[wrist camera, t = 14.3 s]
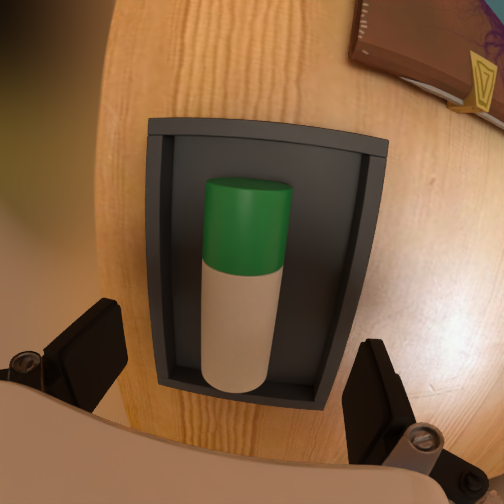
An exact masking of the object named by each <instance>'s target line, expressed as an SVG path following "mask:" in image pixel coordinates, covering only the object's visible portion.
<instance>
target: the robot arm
mask: <svg viewBox="0 0 504 504" xmlns="http://www.w3.org/2000/svg"><path fill="white" fill-rule="evenodd" d="M43 351H44V355H43V356H42V357H41V356H40V354H38V353H36V352H33V351H25V352H21V353H19V354H17V355H15V356H14V357H13V358H12V359H11V361H10V364H9V368H8V369H2V370H0V504H504V499H503V498H502V497H501V496H500V495H498V493H497V492H496V491H494V490H493V491H492V492H490V491H489V490H488V487H489V480H488V478H487V475H486V474H485V473H484V472H483V471H482V470H481V469H479V468H477V467H476V466H474V465H472V464H470V463H468V462H466V461H465V460H463V459H461V458H459V457H457V456H456V455H454V454H452V453H450V452H448V451H447V450H445V449H443V446H444V437H443V435H442V432H441V431H440V430H439V429H438V428H437V427H435V426H434V425H431V424H429V423H423V422H420V423H416V420H415V417H414V414H413V411H412V408H411V405H410V402H409V400H408V397H407V394H406V392H405V389H404V386H403V384H402V381H401V378H400V376H399V375H398V374H395V371H394V368H393V366H392V363H391V361H390V358H389V355H388V353H387V350H386V348H385V345H384V343H383V341H382V340H381V339H369V338H368V339H366V341H365V342H361V344H360V346H359V349H358V352H357V355H356V358H355V361H354V364H353V367H352V370H351V372H350V375H349V378H348V381H347V383H346V386H345V389H344V391H343V394H342V407H343V415H344V423H345V431H346V440H347V449H348V459H349V464H322V463H306V462H293V461H282V460H272V459H264V458H256V457H249V456H243V455H237V454H231V453H225V452H220V451H215V450H210V449H205V448H201V447H196V446H192V445H188V444H184V443H180V442H176V441H172V440H168V439H165V438H161V437H158V436H154V435H151V434H148V433H145V432H141V431H138V430H135V429H132V428H129V427H126V426H123V425H120V424H117V423H115V422H112V421H110V420H107V419H104V418H102V417H99V416H96V415H94V414H92V412H93V411H94V409H95V408H96V406H97V405H98V404H99V402H100V400H101V399H102V398H103V396H104V395H105V393H106V392H107V390H108V389H109V388H110V387H111V385H112V384H113V383H114V381H115V380H116V378H117V377H118V376H119V374H120V373H121V372H122V370H123V369H124V367H125V366H126V364H127V362H128V355H127V349H126V343H125V336H124V329H123V322H122V314H121V307H120V305H118V304H117V301H115V300H112V299H107V298H102V299H100V300H99V301H98V302H97V303H96V304H94V305H93V306H92V307H91V308H90V309H88V310H87V311H86V312H85V313H84V314H83V315H82V316H80V317H79V318H78V319H77V320H76V321H75V322H74V323H72V324H71V325H70V326H69V327H68V328H67V329H66V330H65V331H63V332H62V333H61V334H60V335H59V336H58V337H57V338H56V339H55V340H53V341H52V342H51V343H50V344H49V345H48V346H47V347H46V348H45V349H43Z"/></svg>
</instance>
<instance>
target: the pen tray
mask: <svg viewBox="0 0 504 504" xmlns="http://www.w3.org/2000/svg"><path fill="white" fill-rule="evenodd" d="M388 145H389V140H386V139H382V138H377V137H372V136H367V135H362V134H356V133H351V132H345V131H339V130H333V129H326V128H320V127H312V126H305V125H297V124H288V123H279V122H268V121H256V120H242V119H223V118H149V120H148V136H147V155H146V186H145V231H146V262H147V281H148V296H149V308H150V320H151V330H152V339H153V348H154V356H155V364H156V371H157V378H158V384H159V385H163V386H167V387H171V388H175V389H180V390H184V391H188V392H193V393H197V394H202V395H207V396H212V397H217V398H223V399H228V400H234V401H240V402H247V403H253V404H261V405H268V406H276V407H285V408H295V409H306V410H320V411H323V410H324V407H325V405H326V402H327V399H328V397H329V394H330V391H331V389H332V386H333V383H334V380H335V377H336V374H337V371H338V369H339V366H340V363H341V359H342V356H343V353H344V350H345V347H346V344H347V341H348V337H349V334H350V331H351V327H352V324H353V320H354V317H355V313H356V310H357V306H358V302H359V299H360V295H361V291H362V287H363V283H364V279H365V275H366V271H367V266H368V262H369V257H370V253H371V248H372V244H373V239H374V234H375V229H376V224H377V218H378V213H379V207H380V201H381V195H382V189H383V183H384V176H385V169H386V161H387V159H386V158H387V154H388ZM220 177H240V178H253V179H262V180H269V181H275V182H279V183H283V184H287V185H289V186H291V187H292V188H293V193H292V201H291V210H290V218H289V226H288V234H287V242H286V249H285V257H284V264H283V272H282V279H281V286H280V293H279V300H278V307H277V313H276V320H275V327H274V333H273V340H272V346H271V352H270V358H269V365H268V371H267V376H266V379H265V381H264V382H263V383H262V384H261V385H260V386H259V387H257V388H256V389H254V390H251V391H248V392H244V393H229V392H224V391H221V390H218V389H216V388H214V387H213V386H211V385H210V384H209V383H208V382H207V381H206V380H205V379H204V377H203V375H202V370H201V291H202V251H203V225H204V204H205V185H206V181H207V180H208V179H212V178H220Z"/></svg>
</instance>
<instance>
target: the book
mask: <svg viewBox="0 0 504 504" xmlns="http://www.w3.org/2000/svg"><path fill="white" fill-rule="evenodd" d="M348 55H349V58H350V60H351V61H354V62H358V63H361V64H365V65H368V66H371V67H374V68H377V69H381V70H384V71H387V72H390V73H392V74H395V75H398V76H401V77H400V78H402V77H404V78H402V79H404V80H406V81H408V82H410V83H412V84H414V85H416V86H418V87H420V88H421V89H423V90H425V91H427V92H430V93H432V94H434V95H437V96H439V97H441V98H443V99H446V100H447V108H448V109H450V110H452V111H455V112H457V113H474V114H476V115H478V116H480V117H482V118H484V119H485V120H487V121H489V122H491V123H493V124H494V125H496V126H498V127H499V128H501V129H503V130H504V0H356V5H355V12H354V19H353V26H352V33H351V40H350V46H349V52H348Z"/></svg>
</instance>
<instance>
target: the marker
mask: <svg viewBox="0 0 504 504" xmlns="http://www.w3.org/2000/svg"><path fill="white" fill-rule="evenodd" d="M292 193H293V188H292V187H291V186H289V185H287V184H283V183H279V182H275V181H269V180H262V179H253V178H240V177H220V178H212V179H208V180H207V181H206V185H205V204H204V225H203V251H202V291H201V370H202V375H203V377H204V379H205V380H206V381H207V382H208V383H209V384H210V385H211V386H213V387H214V388H216V389H218V390H221V391H224V392H229V393H244V392H248V391H251V390H254V389H256V388H257V387H259V386H260V385H261V384H262V383H263V382H264V381H265V379H266V376H267V371H268V365H269V358H270V352H271V346H272V340H273V333H274V327H275V320H276V313H277V307H278V300H279V293H280V286H281V279H282V272H283V264H284V257H285V249H286V242H287V234H288V226H289V218H290V210H291V201H292Z"/></svg>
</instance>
